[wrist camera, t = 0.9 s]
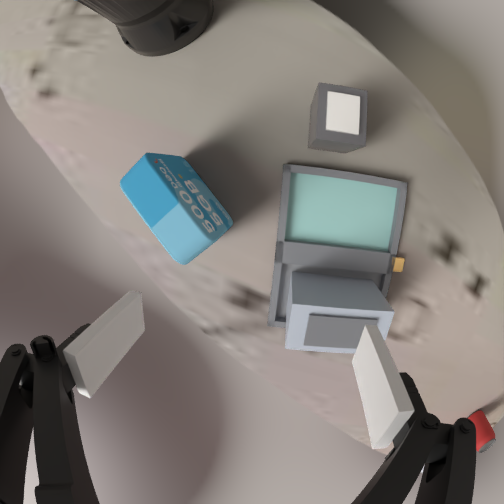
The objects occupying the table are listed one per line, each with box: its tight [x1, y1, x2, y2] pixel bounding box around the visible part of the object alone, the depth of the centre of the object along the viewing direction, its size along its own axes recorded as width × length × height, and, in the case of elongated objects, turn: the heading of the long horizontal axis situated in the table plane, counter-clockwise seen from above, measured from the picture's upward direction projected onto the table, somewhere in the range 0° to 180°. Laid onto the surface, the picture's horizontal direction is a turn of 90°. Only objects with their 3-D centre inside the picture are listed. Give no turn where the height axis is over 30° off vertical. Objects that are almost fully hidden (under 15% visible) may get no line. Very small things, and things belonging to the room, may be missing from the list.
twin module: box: [285, 272, 394, 353], centre depth 34 cm, size 6×12×10 cm, turn 86°
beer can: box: [467, 410, 496, 453], centre depth 38 cm, size 7×7×12 cm
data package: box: [120, 153, 233, 265], centre depth 32 cm, size 12×4×12 cm, turn 38°
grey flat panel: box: [267, 164, 408, 328], centre depth 36 cm, size 23×18×2 cm
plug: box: [308, 83, 367, 153], centre depth 27 cm, size 6×5×10 cm
